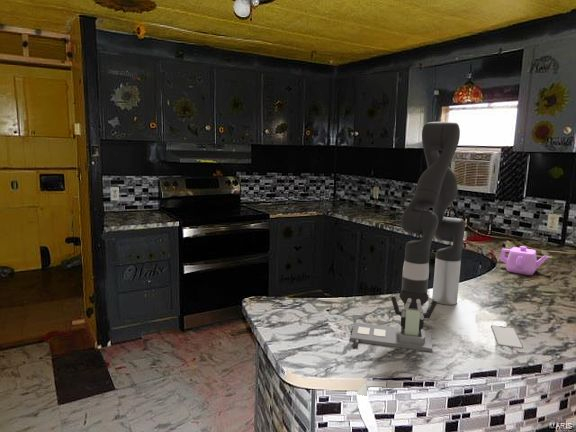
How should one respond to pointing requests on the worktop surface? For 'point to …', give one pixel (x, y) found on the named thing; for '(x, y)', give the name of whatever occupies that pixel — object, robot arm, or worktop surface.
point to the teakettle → (521, 260)
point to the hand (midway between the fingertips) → (411, 328)
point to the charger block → (412, 321)
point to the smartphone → (506, 336)
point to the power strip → (390, 337)
